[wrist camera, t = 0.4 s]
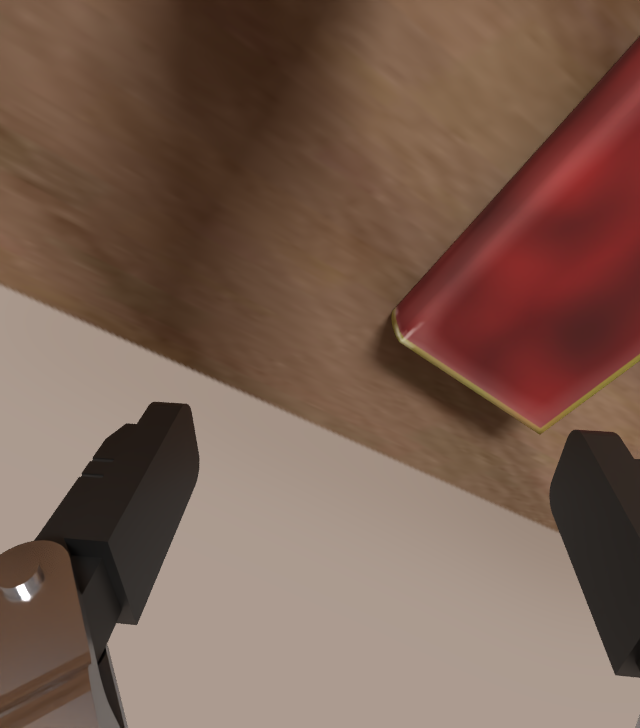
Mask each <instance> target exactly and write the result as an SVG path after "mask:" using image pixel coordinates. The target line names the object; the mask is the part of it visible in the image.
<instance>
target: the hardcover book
mask: <svg viewBox="0 0 640 728" xmlns="http://www.w3.org/2000/svg"><path fill="white" fill-rule="evenodd" d="M391 317H392V326H393V330H394V333H395V336H396V338H397V339H398V341H399V342H400V343H401V344H403V345H404V346H406V347H408V348H409V349H411V350H412V351H414V352H415V353H417V354H418V355H420V356H421V357H423V358H424V359H426V360H427V361H429V362H430V363H432V364H433V365H435V366H436V367H438V368H439V369H441V370H442V371H444V372H445V373H447V374H449V375H450V376H452V377H453V378H455V379H456V380H458V381H459V382H461V383H462V384H464V385H465V386H467V387H468V388H470V389H471V390H473V391H474V392H476V393H477V394H479V395H480V396H482V397H483V398H485V399H486V400H488V401H490V402H491V403H493V404H494V405H496V406H497V407H499V408H500V409H502V410H503V411H505V412H506V413H508V414H509V415H511V416H512V417H514V418H515V419H517V420H518V421H520V422H521V423H523V424H524V425H526V426H527V427H529V428H531V429H532V430H534V431H535V432H537V433H538V434H541V433H543V432H544V431H546V430H547V429H548V428H550V427H551V426H552V425H554V424H555V423H556V422H558V421H559V420H560V419H562V418H563V417H564V416H566V415H567V414H568V413H570V412H571V411H573V410H574V409H575V408H577V407H578V406H579V405H581V404H582V403H583V402H585V401H586V400H587V399H589V398H590V397H591V396H593V395H594V394H596V393H597V392H598V391H600V390H601V389H602V388H604V387H605V386H606V385H608V384H609V383H610V382H612V381H613V380H614V379H616V378H617V377H618V376H620V375H621V374H623V373H624V372H625V371H627V370H628V369H629V368H631V367H632V366H633V365H635V364H636V363H637V362H639V361H640V37H639V38H638V39H637V40H636V41H635V42H634V43H633V44H632V45H631V47H630V48H629V49H628V50H627V51H626V52H625V53H624V54H623V55H622V57H621V58H620V59H619V60H618V61H617V62H616V63H615V64H614V65H613V67H612V68H611V69H610V70H609V71H608V72H607V73H606V74H605V75H604V77H603V78H602V79H601V80H600V81H599V82H598V83H597V84H596V85H595V87H594V88H593V89H592V90H591V91H590V92H589V93H588V94H587V95H586V97H585V98H584V99H583V100H582V101H581V102H580V103H579V104H578V105H577V107H576V108H575V109H574V110H573V111H572V112H571V113H570V114H569V115H568V117H567V118H566V119H565V120H564V121H563V122H562V123H561V124H560V125H559V127H558V128H557V129H556V130H555V131H554V132H553V133H552V134H551V135H550V137H549V138H548V139H547V140H546V141H545V142H544V143H543V144H542V145H541V147H540V148H539V149H538V150H537V151H536V152H535V153H534V154H533V155H532V157H531V158H530V159H529V160H528V161H527V162H526V163H525V164H524V165H523V167H522V168H521V169H520V170H519V171H518V172H517V173H516V174H515V175H514V177H513V178H512V179H511V180H510V181H509V182H508V183H507V184H506V185H505V187H504V188H503V189H502V190H501V191H500V192H499V193H498V194H497V195H496V197H495V198H494V199H493V200H492V201H491V202H490V203H489V204H488V205H487V207H486V208H485V209H484V210H483V211H482V212H481V213H480V214H479V215H478V217H477V218H476V219H475V220H474V221H473V222H472V223H471V224H470V225H469V227H468V228H467V229H466V230H465V231H464V232H463V233H462V234H461V235H460V236H459V238H458V239H457V240H456V241H455V242H454V243H453V244H452V245H451V246H450V248H449V249H448V250H447V251H446V252H445V253H444V254H443V255H442V256H441V258H440V259H439V260H438V261H437V262H436V263H435V264H434V265H433V266H432V268H431V269H430V270H429V271H428V272H427V273H426V274H425V275H424V276H423V278H422V279H421V280H420V281H419V282H418V283H417V284H416V285H415V286H414V288H413V289H412V290H411V291H410V292H409V293H408V294H407V295H406V296H405V298H404V299H403V300H402V301H401V302H400V303H399V304H398V305H397V306H396V308H395V309H394V310H393V311H392V315H391Z"/></svg>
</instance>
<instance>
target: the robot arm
mask: <svg viewBox="0 0 640 728" xmlns="http://www.w3.org/2000/svg"><path fill="white" fill-rule="evenodd" d="M198 472H199V452H198V447H197V441H196V435H195V430H194V424H193V417H192V412H191V408H190V406H189V405H188V404H181V403H164V402H152V403H151V404H150V405H149V406H148V408H147V409H146V411H145V412H144V414H143V415H142V417H141V418H140V420H139V422H138V423H137V424H125V425H124V426H122V427H121V428H120V429H118V430H117V431H116V432H115V433H113V434H112V435H110V436H109V437H108V438H106V439H105V441H104V442H103V444H102V445H101V447H100V448H99V449H98V451H97V452H96V454H95V455H94V456H93V460H92V461H90V462H89V463H88V465H87V466H86V468H85V469H84V471H83V472H82V476H81V477H79V478H78V479H77V481H76V482H75V483H74V485H73V486H72V488H71V489H70V491H69V492H68V493H67V495H66V496H65V498H64V499H63V501H62V502H61V503H60V505H59V506H58V508H57V509H56V511H55V512H54V513H53V515H52V516H51V518H50V519H49V521H48V522H47V523H46V525H45V526H44V528H43V529H42V531H41V532H40V533H39V535H38V536H37V537H36V539H35V540H34V541H31V542H27V543H24V544H21V545H18V546H15V547H13V548H11V549H9V550H7V551H5V552H4V553H2V554H0V728H128V726H127V722H126V718H125V714H124V709H123V706H122V701H121V697H120V693H119V689H118V685H117V681H116V677H115V673H114V669H113V665H112V661H111V657H110V653H109V648H108V646H107V642H108V640H109V638H110V635H111V633H112V631H113V629H114V627H115V624H116V623H121V624H131V625H137V624H138V621H139V618H140V616H141V614H142V612H143V609H144V607H145V604H146V602H147V599H148V597H149V595H150V592H151V590H152V587H153V585H154V583H155V580H156V578H157V576H158V573H159V571H160V568H161V566H162V563H163V561H164V559H165V556H166V554H167V552H168V549H169V547H170V544H171V542H172V540H173V537H174V535H175V533H176V530H177V528H178V525H179V523H180V521H181V518H182V516H183V513H184V511H185V508H186V506H187V504H188V501H189V499H190V497H191V494H192V491H193V489H194V487H195V484H196V481H197V477H198ZM550 506H551V511H552V514H553V516H554V519H555V522H556V524H557V527H558V529H559V532H560V534H561V537H562V539H563V542H564V545H565V547H566V550H567V552H568V555H569V557H570V560H571V563H572V565H573V568H574V570H575V573H576V575H577V578H578V580H579V583H580V586H581V588H582V590H583V593H584V596H585V599H586V601H587V604H588V606H589V609H590V611H591V614H592V617H593V619H594V621H595V624H596V627H597V629H598V632H599V635H600V637H601V640H602V642H603V645H604V647H605V650H606V652H607V655H608V657H609V660H610V662H611V665H612V668H613V670H614V673H615V675H619V676H630V677H639V678H640V459H634V458H633V456H632V455H631V453H630V452H629V450H628V449H627V447H626V446H625V444H624V443H623V441H622V439H621V438H620V437H619V435H617V434H616V433H614V432H603V431H587V430H573V431H572V432H571V433H570V434H569V436H568V438H567V441H566V443H565V446H564V449H563V452H562V454H561V457H560V460H559V462H558V465H557V468H556V471H555V473H554V476H553V479H552V482H551V486H550ZM635 728H640V715H639V718H638V721H637V724H636V727H635Z"/></svg>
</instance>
